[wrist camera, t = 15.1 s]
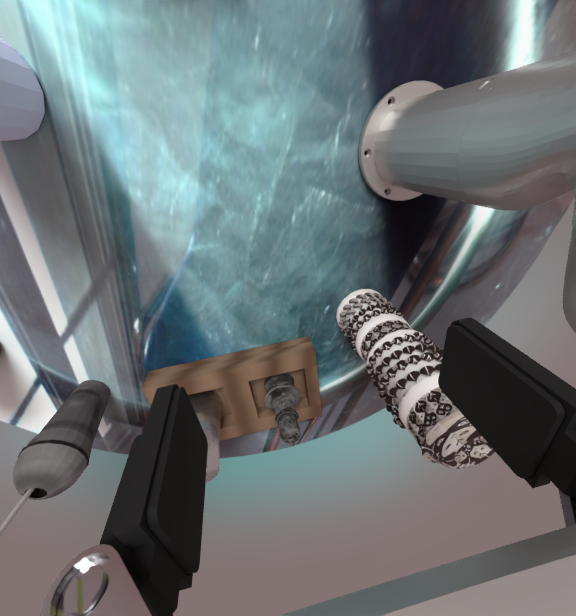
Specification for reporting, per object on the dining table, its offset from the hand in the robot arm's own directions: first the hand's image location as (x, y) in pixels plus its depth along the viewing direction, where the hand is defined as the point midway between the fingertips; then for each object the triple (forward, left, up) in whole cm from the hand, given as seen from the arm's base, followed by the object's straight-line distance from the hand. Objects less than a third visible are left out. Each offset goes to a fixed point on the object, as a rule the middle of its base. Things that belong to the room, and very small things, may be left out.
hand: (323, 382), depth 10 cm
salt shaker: (+1, +28, -29) cm, 40 cm away
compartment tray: (+8, +28, -30) cm, 42 cm away
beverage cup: (+30, +22, -31) cm, 48 cm away
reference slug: (+15, +28, -29) cm, 43 cm away
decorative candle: (-14, +18, -31) cm, 38 cm away
